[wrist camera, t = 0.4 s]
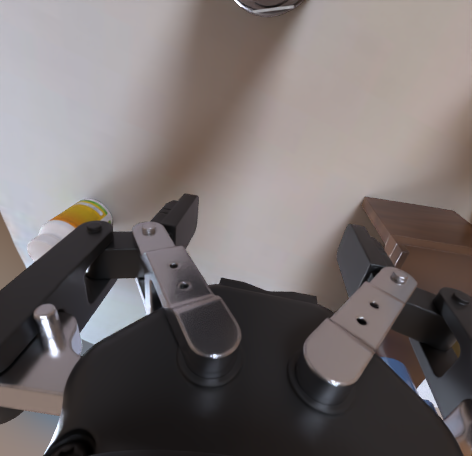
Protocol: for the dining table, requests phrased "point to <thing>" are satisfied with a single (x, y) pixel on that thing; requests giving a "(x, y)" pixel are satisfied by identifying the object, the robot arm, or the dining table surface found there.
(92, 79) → the dining table surface
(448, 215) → the brown wooden shelf
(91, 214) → the supplement bottle
